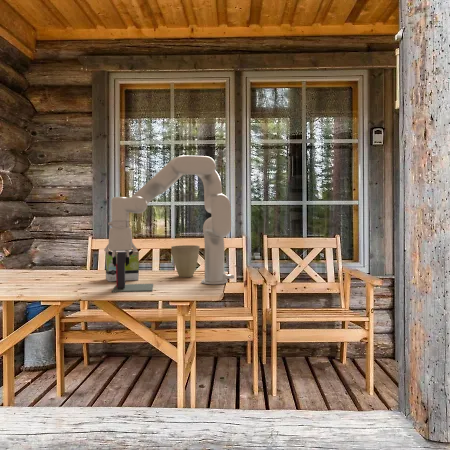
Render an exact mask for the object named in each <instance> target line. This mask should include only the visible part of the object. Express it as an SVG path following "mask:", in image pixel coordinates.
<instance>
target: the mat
mask: <svg viewBox="0 0 450 450" xmlns="http://www.w3.org/2000/svg"><path fill="white" fill-rule="evenodd" d="M153 288H154V283H128V284H127V283H125V288H120V289H118V287H116V284H115V286H114V287H113V288H112V290H111V293H133V292H134V293H135V292H136V293H138V292H139V293H141V292H153Z"/></svg>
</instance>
